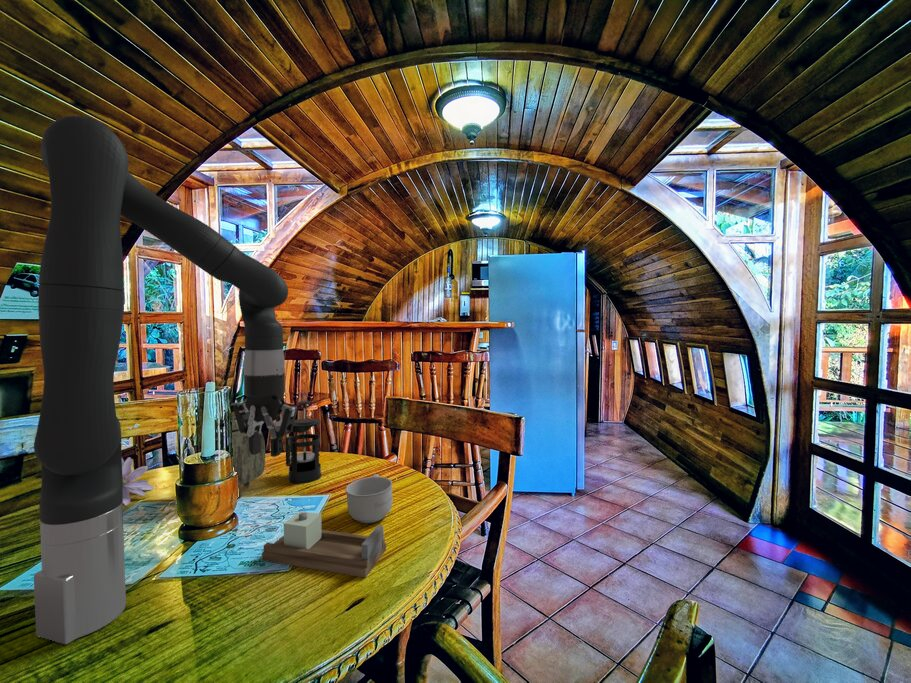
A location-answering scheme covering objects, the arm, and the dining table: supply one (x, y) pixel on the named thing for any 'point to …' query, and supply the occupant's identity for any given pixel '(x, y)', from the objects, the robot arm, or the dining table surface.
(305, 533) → the slider
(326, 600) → the dining table surface
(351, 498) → the teacup
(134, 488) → the water lily
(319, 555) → the track
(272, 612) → the dining table surface
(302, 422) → the french press
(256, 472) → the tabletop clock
